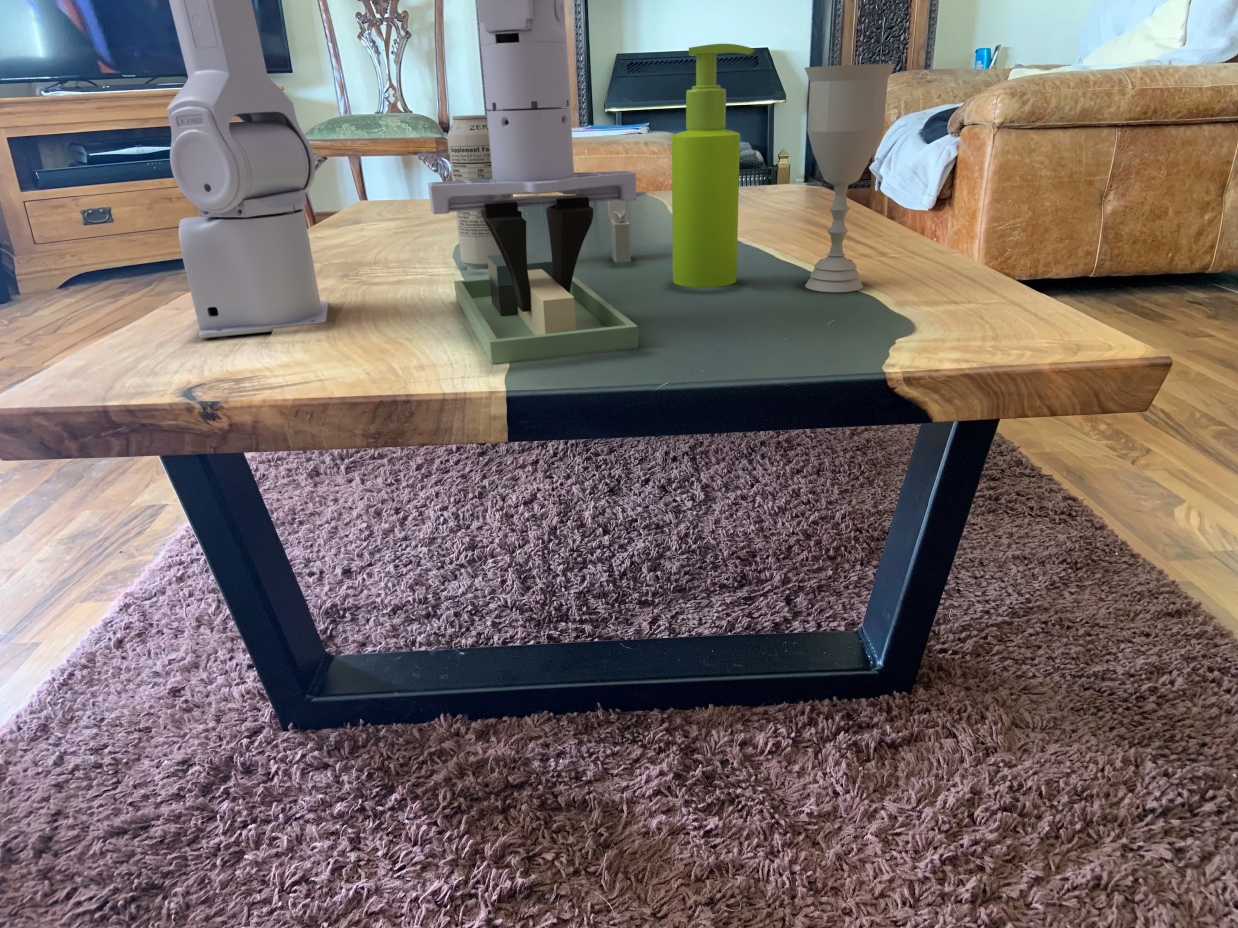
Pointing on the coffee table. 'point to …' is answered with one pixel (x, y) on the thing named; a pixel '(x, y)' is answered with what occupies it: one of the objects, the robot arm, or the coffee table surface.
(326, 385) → the coffee table surface
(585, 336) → the tray
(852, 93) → the chalice
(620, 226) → the lighter
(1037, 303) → the coffee table surface
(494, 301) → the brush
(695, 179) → the soap dispenser
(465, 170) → the energy drink can
